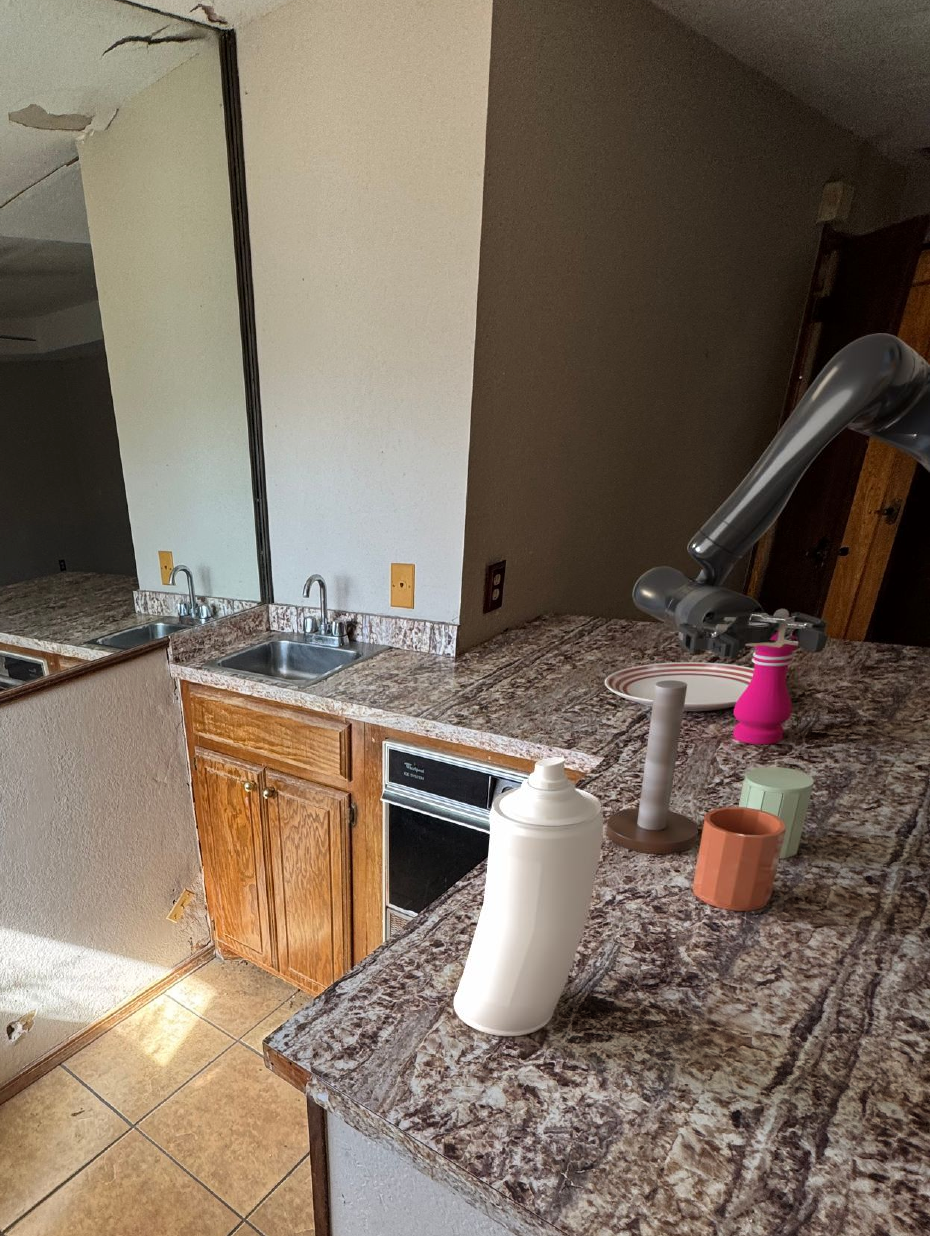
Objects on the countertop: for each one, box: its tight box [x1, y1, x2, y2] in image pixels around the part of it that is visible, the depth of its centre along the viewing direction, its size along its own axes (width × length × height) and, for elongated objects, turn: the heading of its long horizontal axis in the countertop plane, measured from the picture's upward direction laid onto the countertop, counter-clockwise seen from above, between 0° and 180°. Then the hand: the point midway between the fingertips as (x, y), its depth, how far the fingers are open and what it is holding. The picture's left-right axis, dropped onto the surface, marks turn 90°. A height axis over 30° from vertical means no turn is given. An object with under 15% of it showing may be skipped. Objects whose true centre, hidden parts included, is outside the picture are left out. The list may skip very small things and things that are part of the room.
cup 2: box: [692, 806, 786, 912], centre depth 79 cm, size 7×7×9 cm
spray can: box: [453, 756, 604, 1037], centre depth 66 cm, size 12×11×25 cm
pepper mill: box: [732, 608, 798, 745], centre depth 112 cm, size 7×7×20 cm
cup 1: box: [738, 766, 815, 859], centre depth 87 cm, size 6×6×9 cm
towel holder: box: [605, 680, 699, 855], centre depth 90 cm, size 10×10×20 cm
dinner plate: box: [604, 661, 754, 712], centre depth 135 cm, size 28×27×3 cm
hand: (777, 647), depth 84 cm, fingers open, 8 cm apart
